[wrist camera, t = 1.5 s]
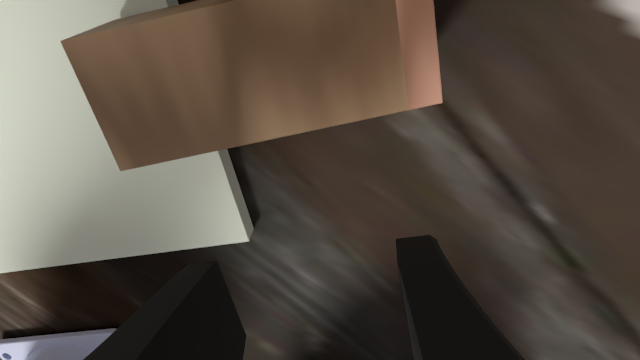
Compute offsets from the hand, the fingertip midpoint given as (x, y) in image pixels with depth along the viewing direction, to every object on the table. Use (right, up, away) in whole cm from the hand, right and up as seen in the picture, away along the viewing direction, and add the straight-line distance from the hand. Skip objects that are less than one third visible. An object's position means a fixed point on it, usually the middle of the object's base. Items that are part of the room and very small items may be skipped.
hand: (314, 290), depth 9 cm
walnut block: (-7, +5, +6) cm, 10 cm away
